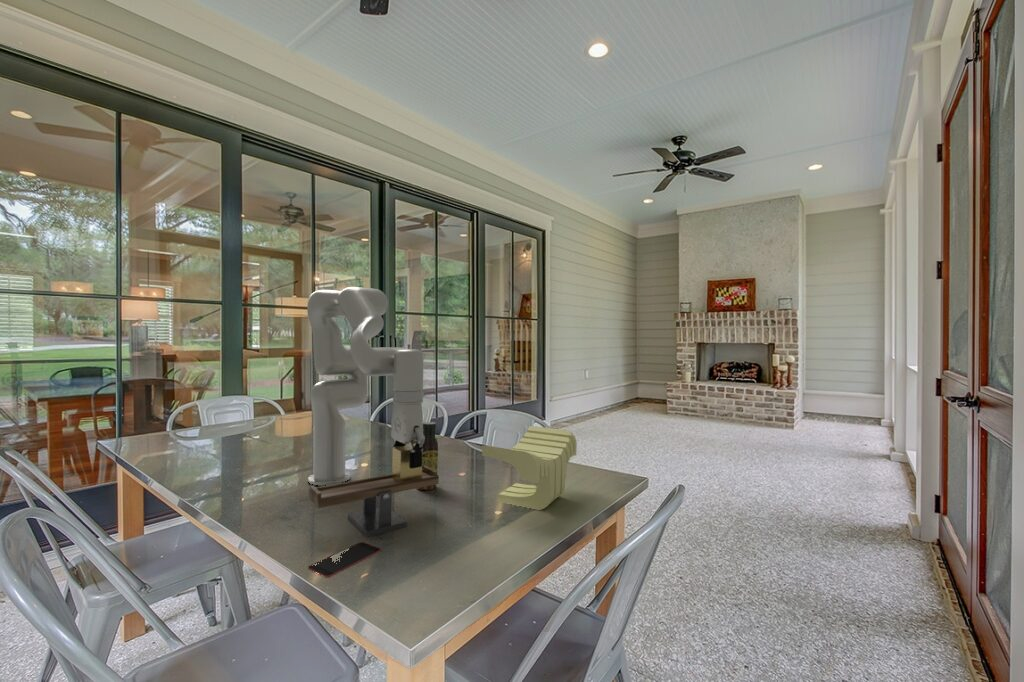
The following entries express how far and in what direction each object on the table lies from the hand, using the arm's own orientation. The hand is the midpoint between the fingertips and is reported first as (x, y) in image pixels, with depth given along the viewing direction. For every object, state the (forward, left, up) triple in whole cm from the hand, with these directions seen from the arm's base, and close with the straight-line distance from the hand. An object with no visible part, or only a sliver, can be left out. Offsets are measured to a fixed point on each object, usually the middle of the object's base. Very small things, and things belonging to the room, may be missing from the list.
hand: (407, 462), depth 119 cm
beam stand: (0, -8, -14) cm, 16 cm away
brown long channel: (0, -8, -6) cm, 10 cm away
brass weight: (0, 0, -4) cm, 4 cm away
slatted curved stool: (+10, +34, -14) cm, 38 cm away
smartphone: (+14, -20, -14) cm, 28 cm away
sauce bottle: (-16, +14, -14) cm, 25 cm away
